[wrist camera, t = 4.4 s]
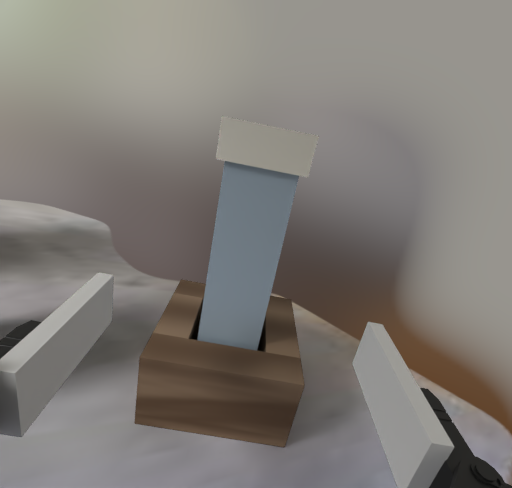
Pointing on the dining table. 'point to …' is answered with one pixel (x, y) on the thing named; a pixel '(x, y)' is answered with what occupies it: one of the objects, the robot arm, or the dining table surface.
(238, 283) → the plug
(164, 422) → the socket block
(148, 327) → the dining table surface
